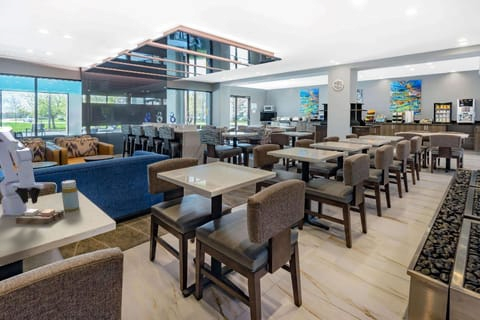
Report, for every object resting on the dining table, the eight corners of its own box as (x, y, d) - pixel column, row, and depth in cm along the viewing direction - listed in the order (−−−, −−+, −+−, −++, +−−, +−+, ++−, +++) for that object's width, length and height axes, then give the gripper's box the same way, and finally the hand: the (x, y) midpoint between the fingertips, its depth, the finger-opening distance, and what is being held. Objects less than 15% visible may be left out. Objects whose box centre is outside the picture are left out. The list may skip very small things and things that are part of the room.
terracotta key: (41, 218, 131) (40, 212, 131) (47, 215, 135) (46, 209, 134) (49, 218, 131) (48, 212, 130) (55, 215, 135) (54, 209, 134)
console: (16, 223, 129) (15, 217, 128) (32, 215, 139) (32, 209, 138) (49, 224, 128) (48, 218, 128) (64, 216, 138) (63, 210, 137)
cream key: (25, 218, 131) (24, 212, 131) (31, 214, 135) (30, 209, 135) (33, 218, 131) (32, 212, 131) (39, 215, 135) (38, 209, 135)
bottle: (72, 212, 143) (69, 183, 140) (60, 211, 144) (57, 183, 141) (82, 207, 150) (79, 180, 147) (71, 206, 151) (68, 179, 148)
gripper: (3, 176, 126) (8, 205, 128) (34, 177, 125) (38, 206, 128) (16, 173, 133) (20, 200, 135) (46, 173, 132) (49, 200, 135)
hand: (30, 202), depth 132 cm, fingers open, 4 cm apart
